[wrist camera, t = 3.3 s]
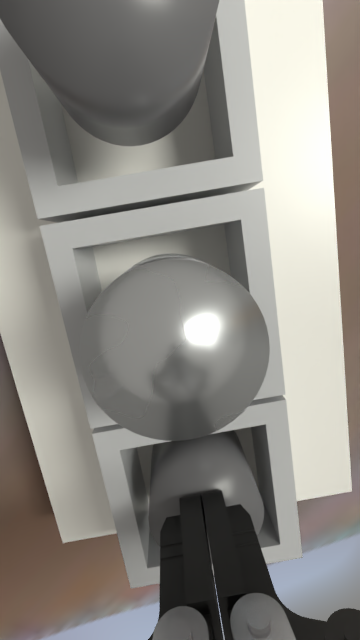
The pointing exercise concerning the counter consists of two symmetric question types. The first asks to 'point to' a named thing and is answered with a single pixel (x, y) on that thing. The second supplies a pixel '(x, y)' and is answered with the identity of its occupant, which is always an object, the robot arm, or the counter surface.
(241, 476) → the charcoal knob
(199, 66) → the charcoal knob
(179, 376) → the steel knob
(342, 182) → the counter surface
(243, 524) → the robot arm
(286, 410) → the panel
